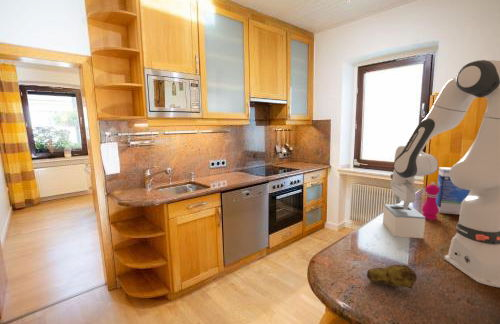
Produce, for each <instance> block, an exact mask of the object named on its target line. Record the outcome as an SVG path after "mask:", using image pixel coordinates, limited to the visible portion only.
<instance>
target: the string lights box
mask: <svg viewBox="0 0 500 324" xmlns="http://www.w3.org/2000/svg"><path fill="white" fill-rule="evenodd" d="M451 168H452V167H445V166H444V167H443V166H438V177H437V185H436V186H438V187H439V193H437V196H438V197H436V204H437V206H438V210H439V212H438V214H439V213H440V214H449V215H450V214H451V215H459V216H460V209H461V203H462V201H463V200H464V199H465V198H466V197H467V196H468V194H469V192H470V190H466V189H461V188H459V187H457V186H455V185H454V184H453V183H452V181H451V179H450V175H449V174H450V169H451Z"/></svg>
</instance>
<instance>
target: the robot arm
mask: <svg viewBox="0 0 500 324" xmlns="http://www.w3.org/2000/svg"><path fill="white" fill-rule="evenodd" d="M477 98H479V99H480V98H485V99H486V100H487V106H486V109H485V112H484V115H483V116H482V120H481V123H480V126H479V129H478V132H477V134H476V135H475V139H474V141H473V143H472V144H471V145H470V146H469V148H468V150H467V151H466V153H465V154H464V155H463V157H462V158H461V159H459V161H457V162H456V163H455V164H453V165H452V166H451V167H450V168H451V169H450V174H449V175H450V179H451V181H452V183H453V184H454V185H455V186H457V187H459V188H461V189H466V190H469V194H468V196H467V197H466V198H465V199H464V200H463V201H462V203H461V209H460V215H459V218H458V221H457V223H456V224H455V225H456V227H455V231H456V234H455V235H454V236H453V237H451V240H450V245H449V249H448V254H445V255H444V258H443V259H444V260H445V261H447V262H449V263H450V264H451V265H452V266H454V267H455V268H457V270H460V271H461V272H463V273H464V274H465V275H467V276H468V277H469V278H471V279H472V280H474V281H475V282H477V283H480V284H482V285H484V286H485V285H487V286H489V287H494V288H495V287H496V288H500V60H487V59H485V60H484V59H481V60H480V59H479V60H475V61H471V62H468V63H467V64H465V65H463V66H462V67H461V68H460V69H459V71H458V72H457V73H456V77H455V78H452V79H449V80H448V81H447V82H446V83H445V85H444V86H443V87H442V89H441V90H440V92H439V94H437V97H436V98H435V101H434V103H433V105H432V107H431V109H430V111H428V113H427V115H426V116H425V117H424V119H422V121H420V122H419V124H418V125H417V126H416V128H415V130H414V131H413V133H412V134H411V136H410V138H409V139H408V141H407V143H406V145H404V144H403V145H399V146H397V148H396V150H395V152H394V153H395V154H394V160H393V173H391V174H390V176H389V178H390V190H391V192H392V193H393V194H394V199H395V200H394V202H395V204H400V203H401V200H402V201H403V204H402V205H403V207H402V208H403V209H404V210H407V209H408V206H410V204H413V203H415V201H416V188H415V187H416V186H414V185H413V184H415V177H422V176H428V175H429V176H430V175H432V174H435V173H436V172H437V170H438V169H439V161H438V159H437V158H436V156H434V155H433V154H431V153H427V152H424V151H423V150H424V148H425V147H426V146H427V144H428V142H429V141H430V140H431V139H432V138H434V137H435V136H438V135H440V134H442V133H444V132H447V131H450V130H452V129H455V128H456V127H458V126H459V124H460V123H461V122H463V120H464V118H465V116H466V115H467V112H468V110H469V109H470V107H471V105H472V103H473V101H474V100H475V99H477Z"/></svg>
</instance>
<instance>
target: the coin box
mask: <svg viewBox="0 0 500 324" xmlns="http://www.w3.org/2000/svg"><path fill="white" fill-rule="evenodd" d="M403 205H404V204H390V203H389V204H387V203H385V204H384V205H383V215H382V216H383V217H382V224H383V226H385V227H386V229H387V230H388V231H389V232H390V233H391V235H392V236H393V237H400V238H413V239H424V235H425V234H424V233H425V226H426V225H425V224H426V218H425V216H423V213H421V212H419V211H418V210H417V209H416V208H414V207H413V206H411V205H409V206H408V209H407V210H404V209H403V208H402V207H403Z"/></svg>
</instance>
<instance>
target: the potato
mask: <svg viewBox="0 0 500 324" xmlns="http://www.w3.org/2000/svg"><path fill="white" fill-rule="evenodd" d="M366 277H367V279H368V280H369V281H370V282H371V283H374V284H380V285H381V286H382V285H383V286H385V287H391V288H408V289H413V286H414V284H415V283H416V281H417V279H418V277H417V274H416V272H415V271H414V270H413V269H412V268H410V267H409V266H407V265H405V264H392V265H389V266H385V267H372V268H370V269H367V274H366Z"/></svg>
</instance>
